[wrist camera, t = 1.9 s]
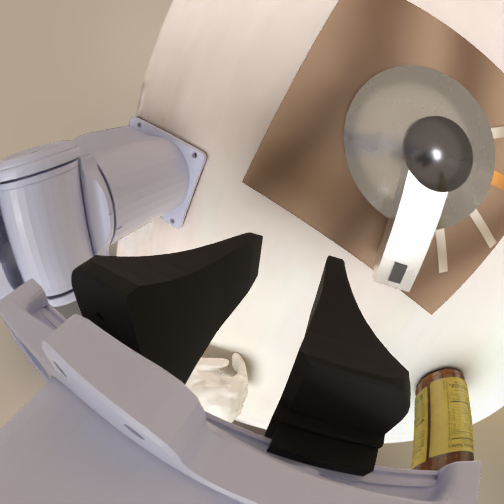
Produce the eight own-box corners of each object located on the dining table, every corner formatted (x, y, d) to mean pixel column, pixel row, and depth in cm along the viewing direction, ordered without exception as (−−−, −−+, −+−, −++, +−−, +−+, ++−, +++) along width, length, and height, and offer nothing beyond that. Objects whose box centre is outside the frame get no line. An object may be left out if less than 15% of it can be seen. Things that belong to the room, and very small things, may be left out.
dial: (355, 51, 12) (350, 28, 8) (498, 103, 9) (531, 102, 5) (322, 239, 18) (308, 271, 15) (448, 279, 15) (460, 317, 12)
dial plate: (250, 177, 20) (240, 182, 19) (355, -15, 10) (353, -25, 9) (429, 303, 19) (431, 316, 17) (547, 138, 8) (558, 141, 7)
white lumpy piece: (227, 438, 26) (152, 393, 31) (262, 389, 32) (189, 355, 37) (223, 416, 23) (138, 365, 28) (263, 360, 29) (182, 325, 34)
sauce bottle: (429, 404, 23) (404, 556, 7) (405, 383, 23) (368, 559, 7) (475, 379, 19) (469, 546, 3) (454, 354, 19) (445, 553, 3)
